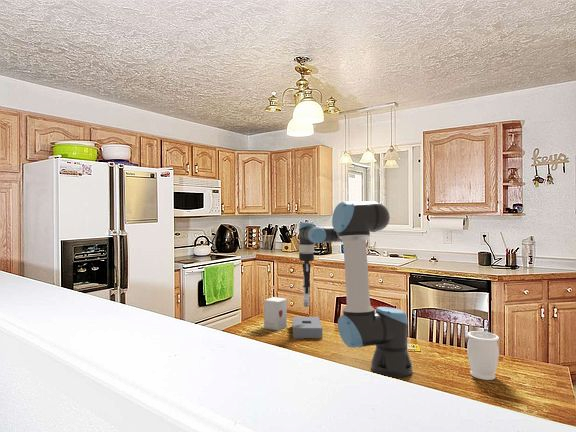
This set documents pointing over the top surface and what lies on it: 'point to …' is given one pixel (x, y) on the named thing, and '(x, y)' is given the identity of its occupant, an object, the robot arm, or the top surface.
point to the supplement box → (275, 313)
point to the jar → (483, 354)
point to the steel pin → (305, 302)
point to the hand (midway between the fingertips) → (306, 298)
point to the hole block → (306, 327)
